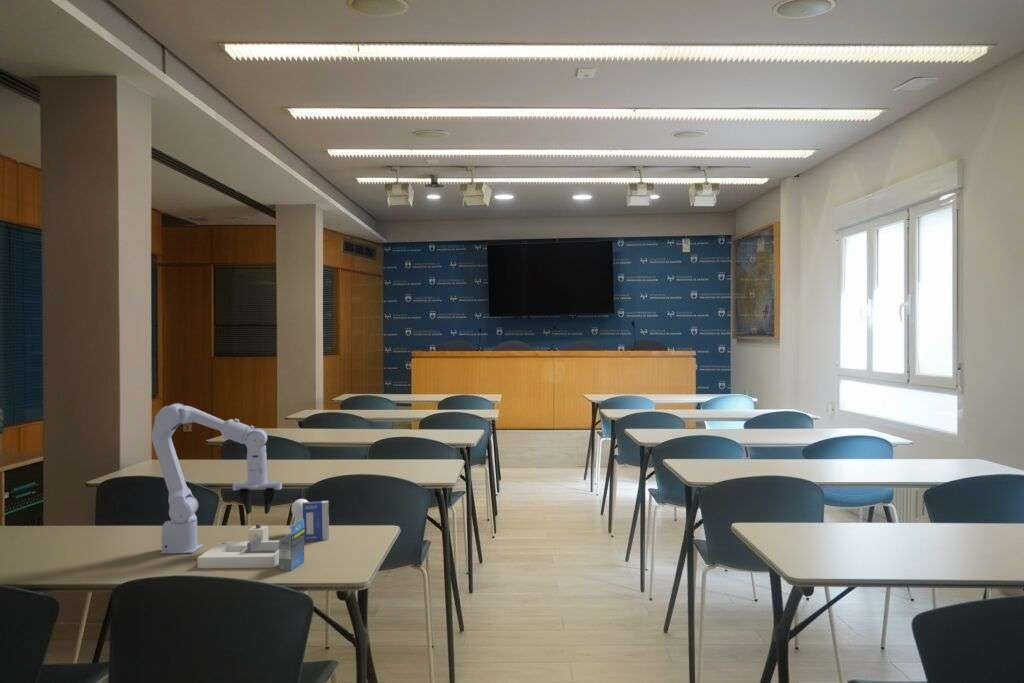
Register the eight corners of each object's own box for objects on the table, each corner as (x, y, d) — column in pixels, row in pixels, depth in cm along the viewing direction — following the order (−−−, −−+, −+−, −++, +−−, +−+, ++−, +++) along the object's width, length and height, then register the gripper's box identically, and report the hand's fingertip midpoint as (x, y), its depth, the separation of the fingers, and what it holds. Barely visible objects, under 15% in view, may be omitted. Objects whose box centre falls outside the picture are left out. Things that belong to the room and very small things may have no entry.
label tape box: (292, 561, 210) (291, 518, 210) (305, 561, 210) (304, 518, 210) (278, 571, 201) (277, 526, 201) (292, 571, 201) (291, 526, 201)
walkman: (303, 541, 230) (302, 503, 230) (303, 539, 233) (302, 501, 233) (329, 539, 232) (328, 501, 232) (329, 537, 235) (328, 499, 235)
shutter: (245, 552, 209) (244, 543, 208) (256, 544, 217) (255, 535, 217) (275, 552, 208) (274, 543, 208) (284, 543, 217) (284, 535, 217)
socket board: (197, 568, 205) (197, 556, 205) (221, 551, 221) (221, 540, 221) (273, 567, 205) (272, 555, 205) (291, 550, 221) (291, 539, 221)
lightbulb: (305, 535, 237) (305, 501, 237) (288, 535, 238) (287, 500, 238) (314, 530, 243) (314, 497, 243) (297, 530, 244) (296, 496, 244)
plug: (248, 548, 224) (248, 526, 224) (254, 543, 229) (253, 522, 229) (263, 547, 224) (262, 526, 224) (268, 543, 229) (268, 522, 229)
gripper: (228, 471, 223) (229, 516, 223) (276, 470, 223) (277, 515, 223) (237, 467, 230) (238, 511, 230) (283, 466, 230) (284, 510, 230)
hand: (258, 513), depth 227 cm, fingers open, 5 cm apart
